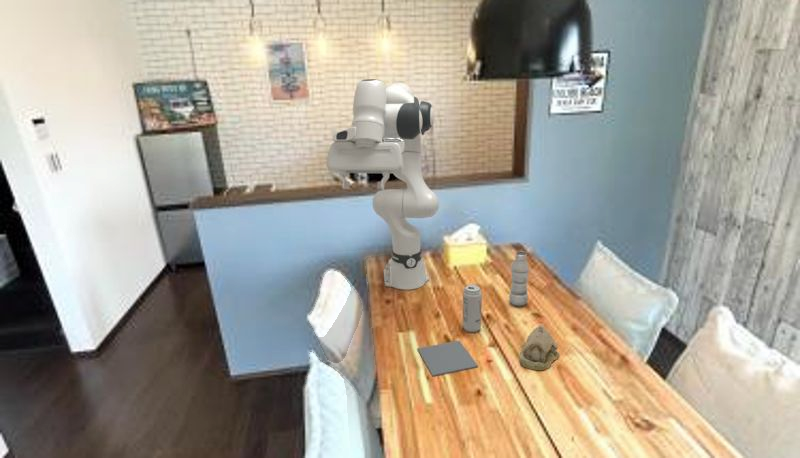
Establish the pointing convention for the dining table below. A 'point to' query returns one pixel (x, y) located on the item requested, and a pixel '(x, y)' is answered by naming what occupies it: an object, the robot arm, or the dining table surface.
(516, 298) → the plastic bottle
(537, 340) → the ceramic model
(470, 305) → the energy drink can
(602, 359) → the dining table surface
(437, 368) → the mat
